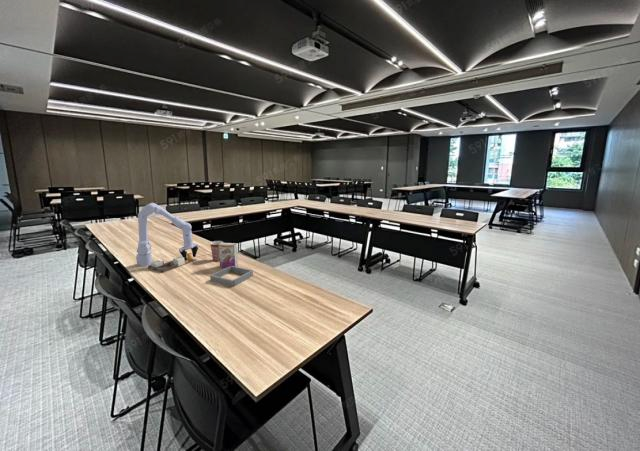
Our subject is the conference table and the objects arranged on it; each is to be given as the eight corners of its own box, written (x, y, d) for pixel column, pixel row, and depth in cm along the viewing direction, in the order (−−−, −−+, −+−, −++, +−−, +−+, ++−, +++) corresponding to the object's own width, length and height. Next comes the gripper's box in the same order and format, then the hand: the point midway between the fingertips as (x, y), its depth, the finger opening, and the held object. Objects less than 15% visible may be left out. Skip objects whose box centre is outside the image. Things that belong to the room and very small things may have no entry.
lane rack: (148, 270, 180) (147, 265, 179) (183, 258, 203) (182, 254, 202) (163, 274, 173) (162, 269, 173) (197, 261, 197) (197, 257, 196)
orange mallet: (173, 264, 187) (172, 257, 186) (189, 259, 198) (188, 252, 197) (178, 266, 185) (177, 259, 184) (194, 260, 196) (193, 253, 195)
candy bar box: (219, 267, 185) (217, 244, 182) (222, 264, 190) (221, 242, 186) (235, 268, 184) (233, 245, 181) (238, 265, 189) (236, 243, 185)
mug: (215, 263, 193) (214, 245, 190) (209, 260, 199) (207, 242, 196) (231, 258, 203) (230, 241, 200) (224, 256, 208) (223, 239, 205)
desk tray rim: (209, 281, 164) (209, 275, 163) (231, 270, 180) (231, 265, 179) (233, 286, 156) (233, 281, 155) (253, 275, 172) (253, 270, 172)
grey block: (151, 268, 180) (150, 262, 179) (158, 266, 184) (157, 260, 183) (156, 269, 178) (155, 264, 177) (163, 267, 182) (162, 261, 181)
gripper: (183, 243, 184) (185, 262, 187) (200, 238, 197) (202, 256, 200) (175, 242, 187) (178, 260, 190) (193, 237, 200) (195, 254, 203)
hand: (189, 258), depth 195 cm, fingers open, 7 cm apart
